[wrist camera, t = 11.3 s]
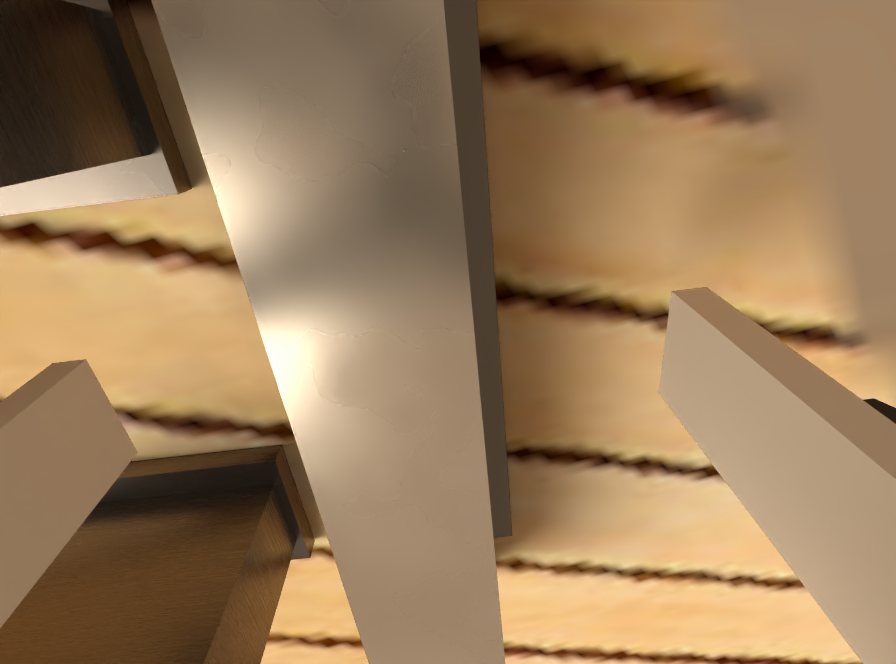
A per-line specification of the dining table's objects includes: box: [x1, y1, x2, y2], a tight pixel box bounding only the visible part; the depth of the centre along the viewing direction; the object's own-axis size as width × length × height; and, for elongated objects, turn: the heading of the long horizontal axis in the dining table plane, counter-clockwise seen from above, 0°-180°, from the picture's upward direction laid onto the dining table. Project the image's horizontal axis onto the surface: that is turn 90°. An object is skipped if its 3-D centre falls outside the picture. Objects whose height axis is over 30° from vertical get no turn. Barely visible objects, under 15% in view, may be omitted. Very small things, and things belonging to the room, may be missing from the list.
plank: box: [443, 0, 512, 538], centre depth 15 cm, size 20×6×1 cm, turn 6°
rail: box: [151, 0, 505, 664], centre depth 12 cm, size 24×4×5 cm, turn 6°
